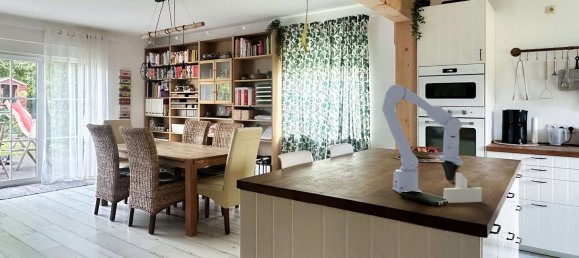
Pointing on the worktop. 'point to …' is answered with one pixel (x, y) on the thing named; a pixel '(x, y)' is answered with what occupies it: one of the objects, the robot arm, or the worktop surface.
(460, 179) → the white wedge bracket
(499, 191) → the worktop surface
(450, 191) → the wall panel
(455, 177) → the chocolate bunny
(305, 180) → the worktop surface
